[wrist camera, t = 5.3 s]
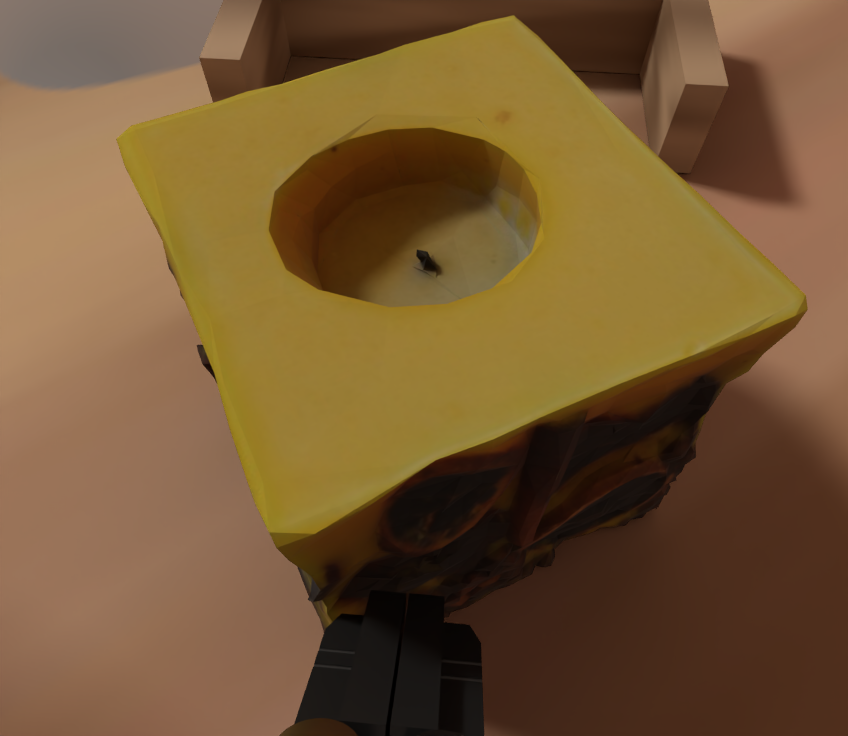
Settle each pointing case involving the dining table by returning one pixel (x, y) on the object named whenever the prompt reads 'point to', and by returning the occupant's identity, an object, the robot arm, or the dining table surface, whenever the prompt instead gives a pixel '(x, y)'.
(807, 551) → the dining table surface
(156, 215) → the candle
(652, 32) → the dock
